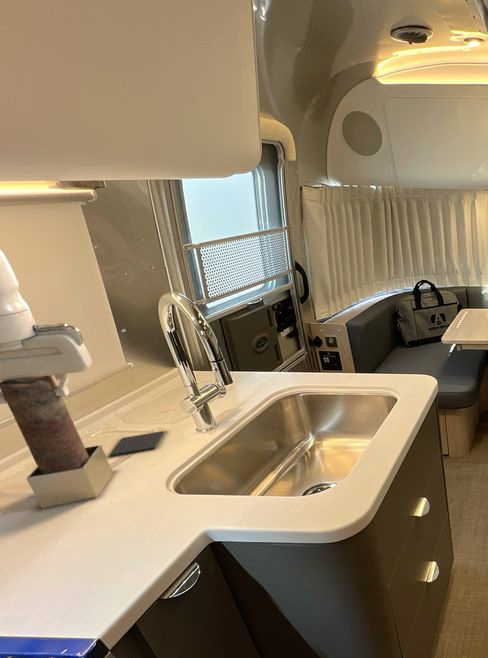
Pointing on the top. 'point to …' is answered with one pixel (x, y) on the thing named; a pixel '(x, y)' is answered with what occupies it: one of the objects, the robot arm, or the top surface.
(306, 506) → the top surface
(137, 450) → the mat
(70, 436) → the candle
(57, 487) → the beige open box
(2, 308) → the robot arm
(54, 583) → the top surface
